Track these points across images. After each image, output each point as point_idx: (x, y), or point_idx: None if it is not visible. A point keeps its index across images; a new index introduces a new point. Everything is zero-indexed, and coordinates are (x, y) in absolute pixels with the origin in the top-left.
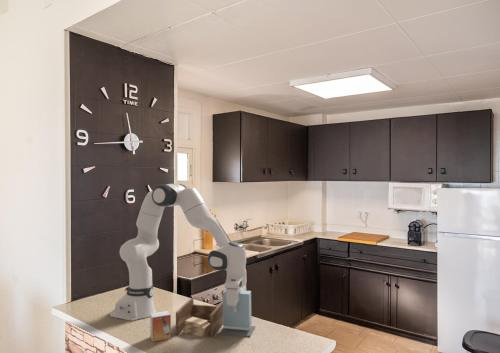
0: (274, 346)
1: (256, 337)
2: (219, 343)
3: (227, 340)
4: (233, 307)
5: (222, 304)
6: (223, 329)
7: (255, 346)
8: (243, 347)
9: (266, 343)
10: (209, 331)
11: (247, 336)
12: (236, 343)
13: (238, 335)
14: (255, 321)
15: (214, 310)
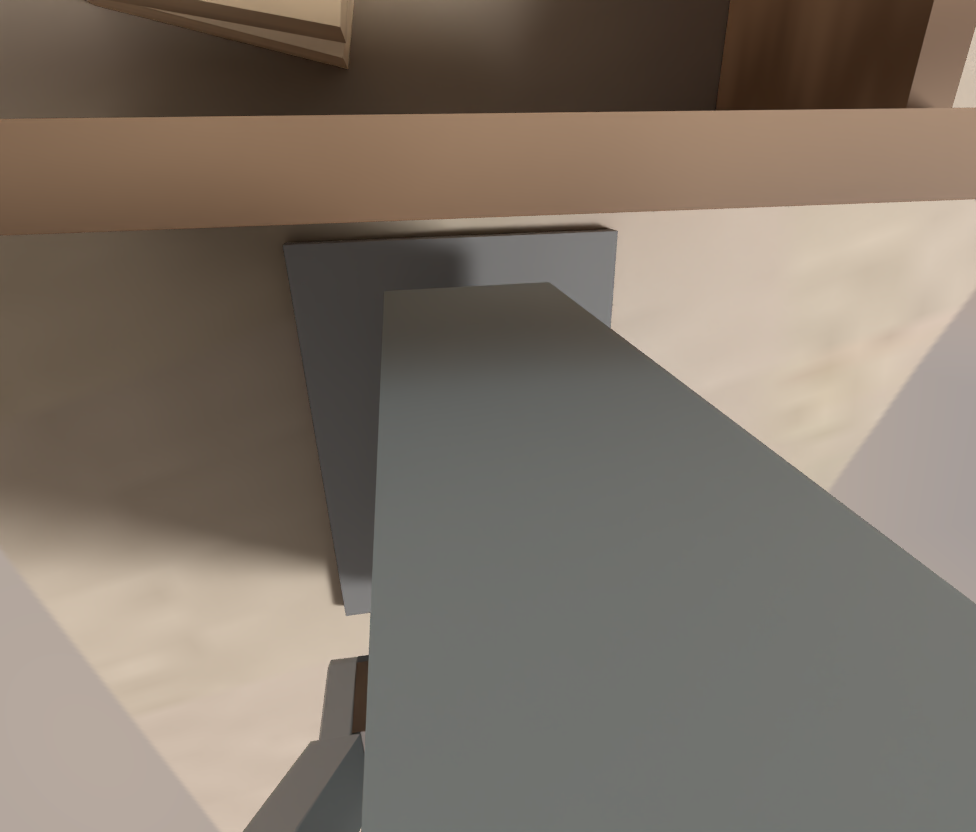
0: (245, 809)
1: (362, 654)
2: (20, 347)
3: (160, 416)
4: (291, 791)
5: (842, 200)
6: (425, 265)
7: (169, 703)
8: (86, 624)
9: (273, 751)
10: (278, 48)
11: (343, 585)
12: (138, 535)
13: (326, 500)
14: None
15: (202, 138)
